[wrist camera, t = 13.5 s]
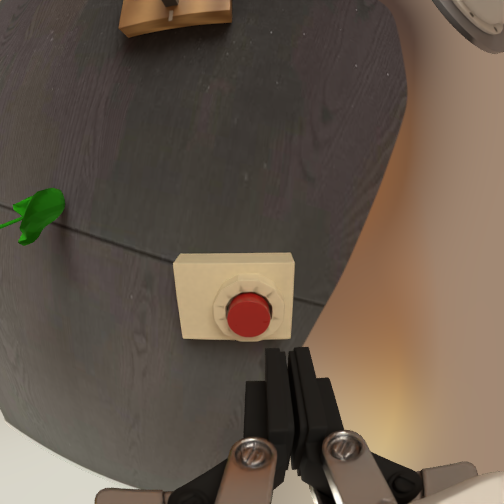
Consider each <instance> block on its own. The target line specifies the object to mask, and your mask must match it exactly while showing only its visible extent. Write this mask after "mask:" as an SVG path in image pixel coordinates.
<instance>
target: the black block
mask: <svg viewBox="0 0 504 504" xmlns="http://www.w3.org/2000/svg"><path fill="white" fill-rule="evenodd" d="M161 1H162V2H163V4H164V5H165V7H169V6H175V5H178V2H179V0H161Z"/></svg>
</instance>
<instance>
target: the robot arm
mask: <svg viewBox="0 0 504 504" xmlns="http://www.w3.org/2000/svg"><path fill="white" fill-rule="evenodd" d="M452 1H453V3H454V4H455V5H456V6H457V8H458V9H459V10H460V11H461V12H462V13H463V14H464V16H465V17H466V18H467V19H468V20H470V21H471V22H472V23H473V24H474V25H475V26H476V27H478V28H479V29H481V30H482V31H484V32H486V33H488V34H491V35H496V34H499V33H501V32H502V29H503V24H504V0H452ZM290 456H291V466H292V470H296V469H297V473H298V476H301V479H302V481H304V482H305V483H307V484H309V489H310V492H311V494H312V498H313V501H314V504H504V472H490V473H486V474H482V475H478V473H477V470H476V467H475V466H474V465H473V464H472V463H469V462H459V463H454V464H450V465H444V466H438V467H433V468H426V469H422V470H421V471H417V472H415V471H413V470H412V469H409V468H406V467H404V466H402V465H399V464H397V463H394V462H392V461H390V460H388V459H385V458H383V457H381V456H378V455H377V454H374V453H372V452H371V451H370V450H369V448H368V446H367V444H366V442H365V440H364V439H363V438H362V436H361V435H359V434H358V433H356V432H353V431H350V430H344V428H343V425H342V420H341V417H340V414H339V410H338V406H337V403H336V399H335V396H334V392H333V389H332V386H331V382H330V379H329V378H316V375H315V371H314V367H313V363H312V359H311V355H310V351H309V348H308V347H296V348H294V351H289V355H288V369H287V363H286V356H285V352H280V349H279V348H265V381H246V392H245V415H244V438H243V439H241V440H239V441H237V442H236V443H235V444H234V445H233V446H232V448H231V450H230V453H229V456H228V458H227V459H226V460H224V461H223V462H221V463H220V464H218V465H217V466H215V467H213V468H212V469H210V470H209V471H207V472H205V473H204V474H202V475H201V476H199V477H197V478H196V479H194V480H192V481H190V482H189V483H187V484H185V485H183V486H182V487H180V488H178V489H176V490H175V491H168V492H163V490H140V489H120V488H105V489H102V490H100V491H99V492H98V494H97V495H96V498H95V504H271V501H272V495H273V490H274V489H275V488H276V487H277V486H279V485H280V484H281V483H282V482H284V476H285V471H286V470H288V466H289V461H290Z"/></svg>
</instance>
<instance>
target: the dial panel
mask: <svg viewBox="0 0 504 504" xmlns="http://www.w3.org/2000/svg"><path fill="white" fill-rule="evenodd" d="M231 22H232V0H179V2H178V5H175V6H169V7H165V5H164V4H163V2H162V1H161V0H124V1H123V6H122V11H121V17H120V23H119V29H120V30H121V31H122V32H123V33H124V34H125V35H126V36H127V37H128V38H129V37H133V36H137V35H142V34H146V33H151V32H156V31H161V30H167V29H173V28H180V27H187V26H195V25H204V24H215V23H231Z"/></svg>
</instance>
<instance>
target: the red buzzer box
mask: <svg viewBox="0 0 504 504" xmlns="http://www.w3.org/2000/svg"><path fill="white" fill-rule="evenodd" d="M294 266H295V263H294V260H293V258H292V255H291V253H212V254H180V255H179V256H178V258H177V259H176V260H175V262H174V263H173V269H174V277H175V286H176V294H177V301H178V309H179V316H180V322H181V329H182V335H183V339H213V340H238V341H241V342H246V341H260V340H268V339H290V338H291V324H292V307H293V288H294ZM244 293H254V294H257V295H259V296H261V297H262V298H264V299H265V300H266V302H267V303H268V306H269V311H270V324H269V327H268V328H267V329H266V331H265V332H264V333H262V334H260V335H258V336H256V337H242V336H239V335H237V334H236V333H234V332H233V331H232V330H231V329H230V327H229V325H228V322H227V316H228V309H229V305H230V303H231V301H232V300H233V299H234V298H235V297H237V296H238V295H240V294H244Z"/></svg>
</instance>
